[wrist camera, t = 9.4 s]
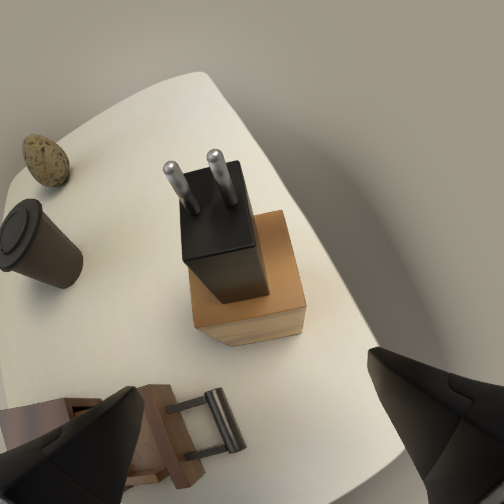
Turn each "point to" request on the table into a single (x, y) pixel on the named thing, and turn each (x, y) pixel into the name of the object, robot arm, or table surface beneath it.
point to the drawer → (177, 437)
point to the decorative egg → (45, 160)
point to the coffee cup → (38, 247)
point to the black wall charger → (219, 229)
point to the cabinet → (41, 419)
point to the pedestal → (262, 308)
